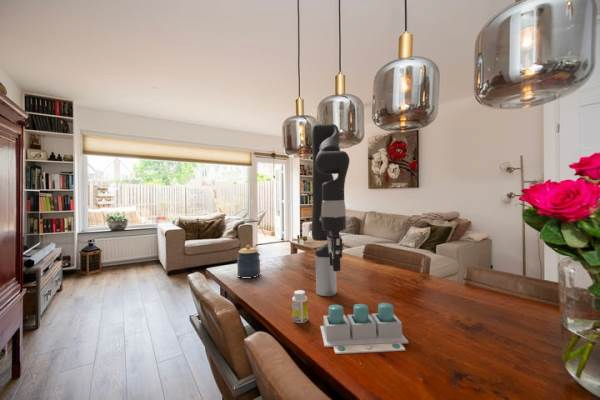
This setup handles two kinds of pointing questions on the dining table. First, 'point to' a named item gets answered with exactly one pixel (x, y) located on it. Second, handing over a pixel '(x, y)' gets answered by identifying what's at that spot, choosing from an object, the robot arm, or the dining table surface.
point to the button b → (361, 313)
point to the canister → (248, 262)
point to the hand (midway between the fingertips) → (334, 267)
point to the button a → (335, 314)
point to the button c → (385, 312)
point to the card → (368, 348)
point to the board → (362, 332)
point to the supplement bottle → (300, 307)
